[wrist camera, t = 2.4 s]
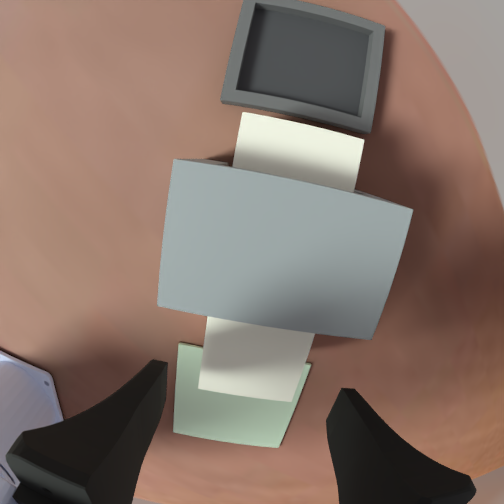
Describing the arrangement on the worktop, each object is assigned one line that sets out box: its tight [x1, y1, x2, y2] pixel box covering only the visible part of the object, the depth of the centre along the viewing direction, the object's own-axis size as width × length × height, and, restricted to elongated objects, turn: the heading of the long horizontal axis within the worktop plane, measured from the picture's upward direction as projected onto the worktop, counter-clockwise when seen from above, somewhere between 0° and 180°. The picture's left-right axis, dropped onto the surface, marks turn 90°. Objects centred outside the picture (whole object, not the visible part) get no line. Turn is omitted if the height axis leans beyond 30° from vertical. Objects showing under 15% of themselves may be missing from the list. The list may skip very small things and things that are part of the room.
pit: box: [220, 0, 385, 134], centre depth 13 cm, size 6×7×1 cm
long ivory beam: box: [198, 112, 364, 402], centre depth 14 cm, size 12×4×4 cm, turn 169°
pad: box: [173, 342, 311, 448], centre depth 19 cm, size 8×8×1 cm
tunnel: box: [157, 159, 413, 340], centre depth 13 cm, size 5×8×6 cm, turn 79°
